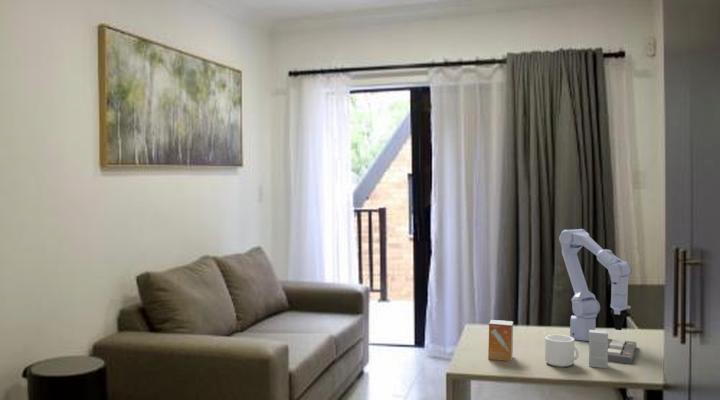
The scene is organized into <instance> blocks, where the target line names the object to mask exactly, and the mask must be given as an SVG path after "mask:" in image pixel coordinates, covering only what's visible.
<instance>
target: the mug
mask: <svg viewBox="0 0 720 400" xmlns="http://www.w3.org/2000/svg"><path fill="white" fill-rule="evenodd" d="M544 340H545V341H544V346H545V347H544V360H545V362H546V363H547V364H549V365H550V366H553V367H559V368H566V367H570V366H573V364H574V363H575V361H576V360H577V359H578V358H579V350H578V348H577V347H576V346H575V339H574V338H572V337H570V335H564V334H549V335H546V336H545V339H544Z"/></svg>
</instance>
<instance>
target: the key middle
mask: <svg viewBox="0 0 720 400" xmlns="http://www.w3.org/2000/svg"><path fill="white" fill-rule="evenodd" d="M609 348H610V349H618V350H623V343H615V342H610V344H609Z"/></svg>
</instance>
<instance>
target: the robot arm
mask: <svg viewBox="0 0 720 400" xmlns="http://www.w3.org/2000/svg"><path fill="white" fill-rule="evenodd" d="M589 233H590V232H588V231H586V230H585V229H584V228H579V229H577V228H575V229H563V230H562V231H561V233H560V235H559V237H558V240H559V243H560V247H561V255H562V258H563V261H564V264H565V267H566V271H567V274H568V277H569V279H570V283H571V286H572V289H573V293H574V295H573V296H572V298H571V305H572V306H571V307H572V308H571V309H572V313H573V314H574V315H573V314H572V315H571V316H570V323H569V325H570V327H569V336H570V337H572V338H574V341H575V340H576V341H577V340H579V341H582V342H584V341H585V342H589V330H596V319H597V317H598V314H599V313H600V311H601V305H600V302H599V301H598V299H596V295H595V294H594V293H593V292H591V291H590V290H589V288H588V284H587V281H586V278H585V275H584V272H583V270H582V267H581V263H580V259H579V257H578V252H579V251H580V250H581V249H582V247H584V248H585V249H586V250H588V251H589V252H591V253H592V254H593V255H595V256H596V260H597V262H599V263H600V264H601V265H602V266H604V268H606V269H607V270H608V274H609V277H610V281H611V287H610V288H611V289H610V290H611V292H610V293H611V294H610V297H611V298H610V307H609V308H611V310H610V315H611V316H612V321H613V326H614V330H616V331H622V330H623V326H624V321H625V317H626V315H627V314H628V309H629V310H631V305H628V298H629V297H628V296H629V295H628V294H629V293H628V291H629V276H631V275H632V272H633V267H632V265H631V264H630V263H629V261H626V260H625V261H624V260H622V259H621V258H620V257H617V256H616V255H615V254H614V253H613V251H612V250H611V249H607V248H605V249H603V248H602V247H601V246H600V245H599V244H598V242H596V241H595V240H594V239H593V238H592V237H591V236H590V234H589Z"/></svg>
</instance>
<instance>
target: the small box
mask: <svg viewBox="0 0 720 400" xmlns="http://www.w3.org/2000/svg"><path fill="white" fill-rule="evenodd" d="M488 324H489V325H488V357H487V359H488V360H494V361H495V360H496V361H502V362H503V361H505V362H512V359H513V351H514V350H513V348H514V347H513V346H514V344H513V343H514V321H512V320H500V319H498V320H497V319H490V321H489V323H488Z"/></svg>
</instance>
